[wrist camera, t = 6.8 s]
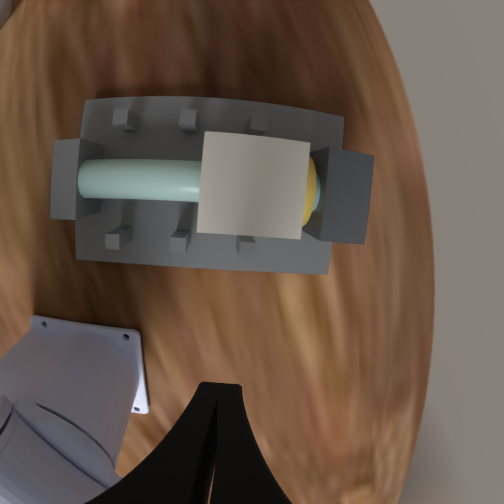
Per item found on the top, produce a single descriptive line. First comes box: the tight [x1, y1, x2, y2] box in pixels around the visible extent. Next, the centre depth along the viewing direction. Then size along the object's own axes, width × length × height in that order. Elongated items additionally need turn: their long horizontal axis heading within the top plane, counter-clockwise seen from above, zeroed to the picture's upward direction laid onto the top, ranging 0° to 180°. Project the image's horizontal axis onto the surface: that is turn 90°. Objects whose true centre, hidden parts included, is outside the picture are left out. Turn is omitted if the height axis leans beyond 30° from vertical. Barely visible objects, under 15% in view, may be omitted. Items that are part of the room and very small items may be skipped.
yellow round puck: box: [302, 156, 316, 226], centre depth 14 cm, size 1×4×4 cm, turn 174°
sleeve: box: [197, 131, 310, 240], centre depth 13 cm, size 4×4×5 cm
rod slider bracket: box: [50, 96, 374, 275], centre depth 15 cm, size 16×10×5 cm, turn 85°
